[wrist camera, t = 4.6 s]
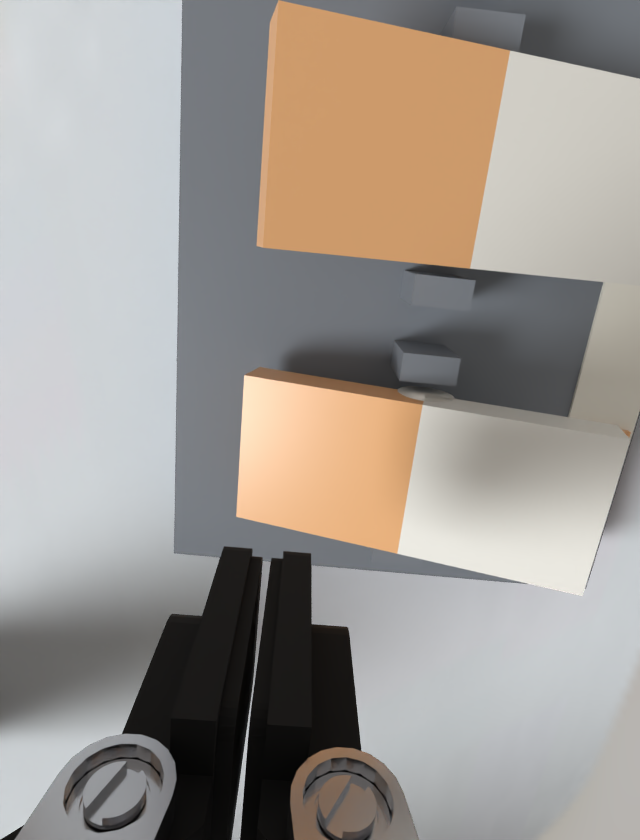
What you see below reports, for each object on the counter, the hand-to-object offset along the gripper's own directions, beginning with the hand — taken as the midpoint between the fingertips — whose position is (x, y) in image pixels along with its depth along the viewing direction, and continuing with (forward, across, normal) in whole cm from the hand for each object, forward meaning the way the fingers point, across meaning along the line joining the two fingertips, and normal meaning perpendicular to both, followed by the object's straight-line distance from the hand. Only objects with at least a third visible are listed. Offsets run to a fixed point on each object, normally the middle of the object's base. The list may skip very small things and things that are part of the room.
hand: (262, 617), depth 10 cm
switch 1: (+6, -4, -9) cm, 11 cm away
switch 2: (+6, -4, -1) cm, 7 cm away
